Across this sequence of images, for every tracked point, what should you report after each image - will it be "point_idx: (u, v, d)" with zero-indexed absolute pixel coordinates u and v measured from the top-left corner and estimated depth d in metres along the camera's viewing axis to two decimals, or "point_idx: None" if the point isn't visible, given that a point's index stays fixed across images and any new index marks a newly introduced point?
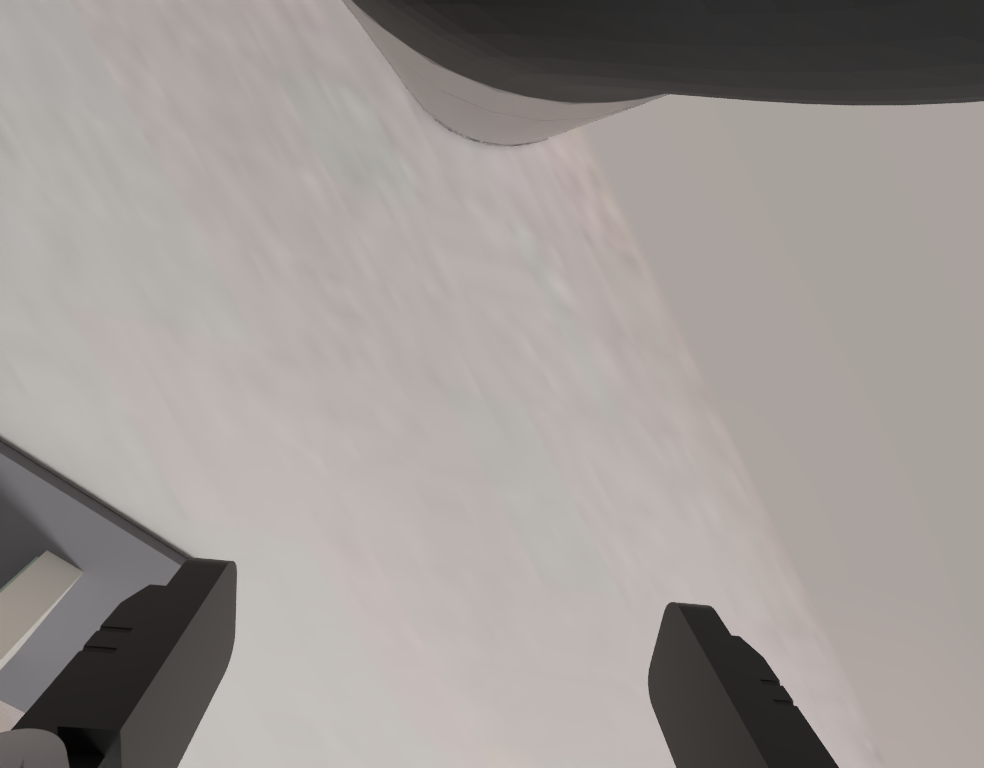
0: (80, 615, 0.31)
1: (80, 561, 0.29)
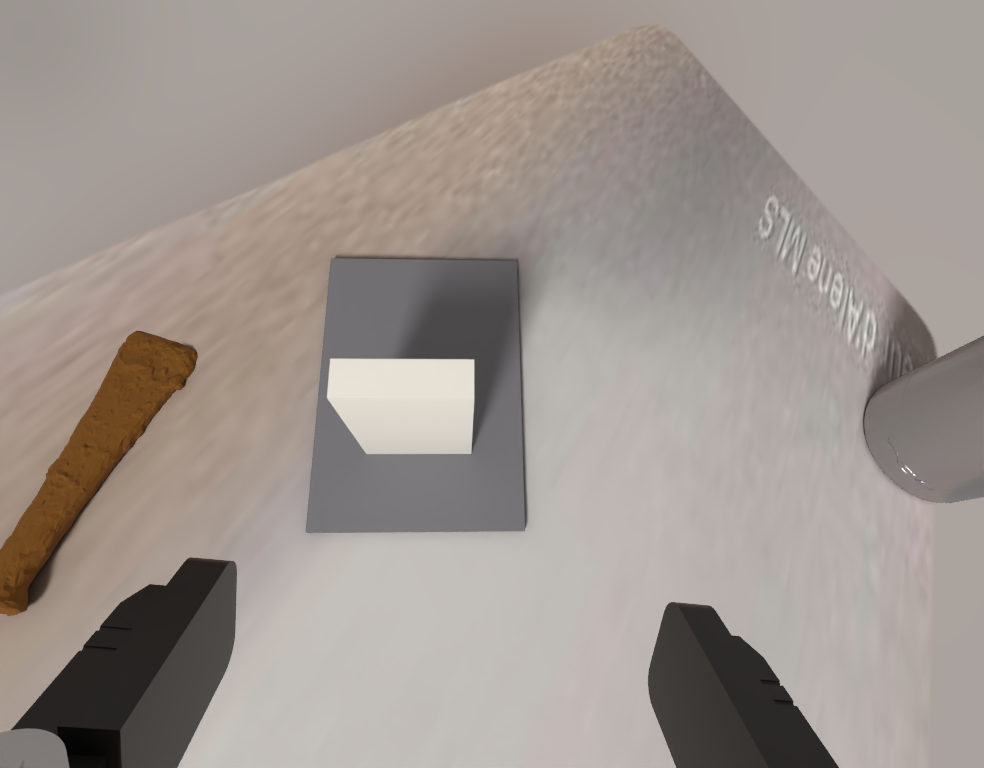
0: (433, 472, 0.39)
1: (477, 447, 0.40)
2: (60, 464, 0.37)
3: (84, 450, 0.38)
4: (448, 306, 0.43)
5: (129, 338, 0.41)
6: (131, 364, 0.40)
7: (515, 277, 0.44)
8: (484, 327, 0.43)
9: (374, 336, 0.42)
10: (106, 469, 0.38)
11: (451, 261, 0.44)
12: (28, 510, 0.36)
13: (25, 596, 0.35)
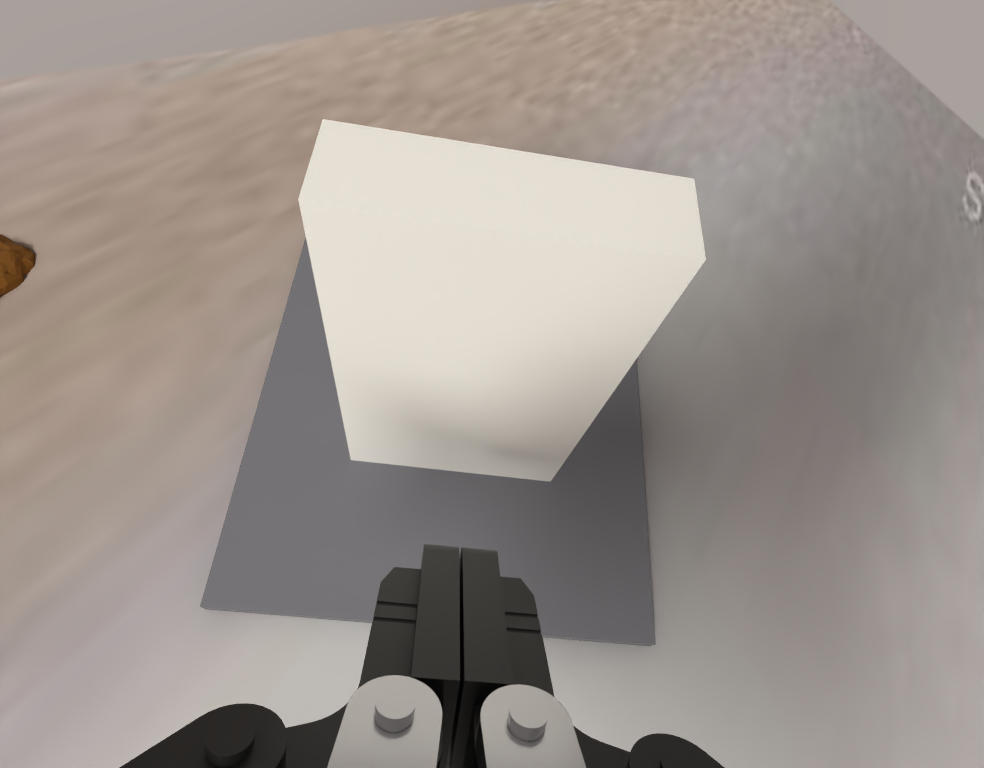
0: (477, 509, 0.20)
1: (563, 471, 0.21)
2: None
3: None
4: None
5: None
6: None
7: None
8: None
9: None
10: None
11: None
12: None
13: None
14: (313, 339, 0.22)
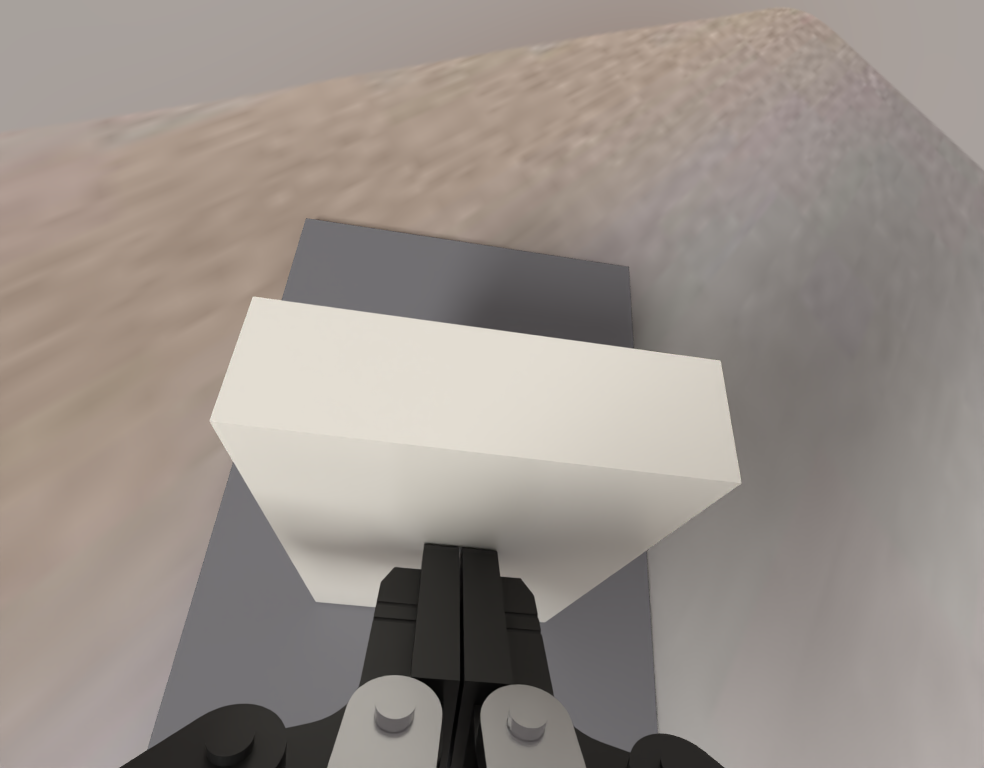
0: None
1: None
2: None
3: None
4: (509, 324, 0.23)
5: None
6: None
7: (627, 292, 0.25)
8: None
9: None
10: None
11: (517, 252, 0.25)
12: None
13: None
14: None
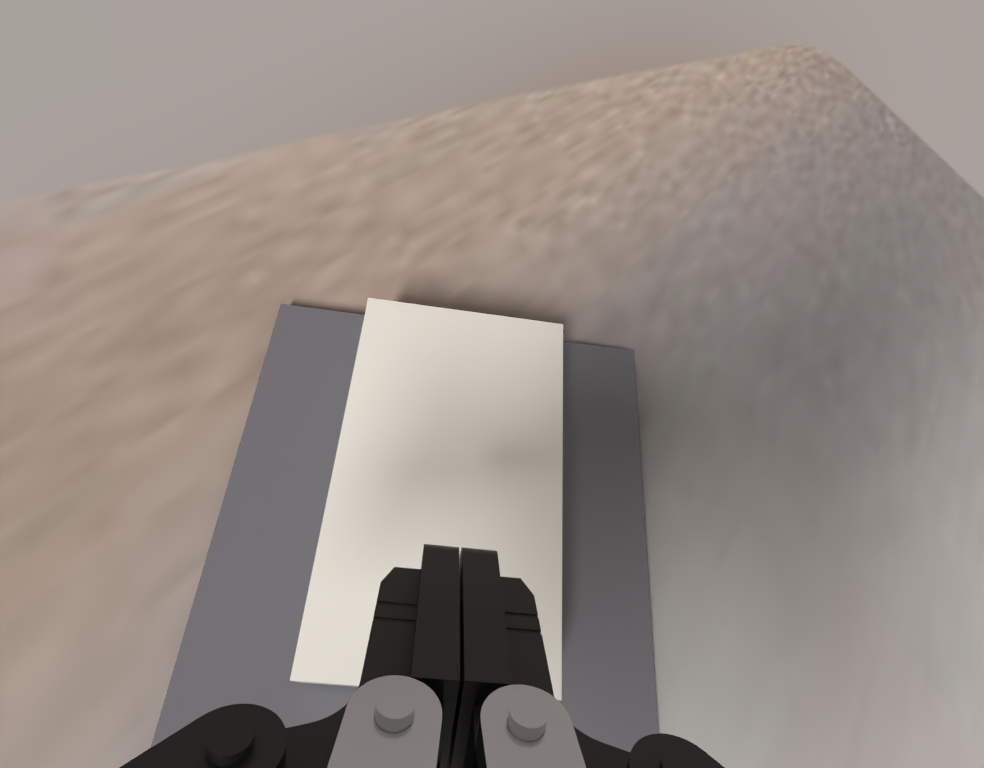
0: None
1: None
2: None
3: None
4: None
5: None
6: None
7: (632, 381, 0.23)
8: (574, 474, 0.21)
9: None
10: None
11: None
12: None
13: None
14: (243, 589, 0.17)
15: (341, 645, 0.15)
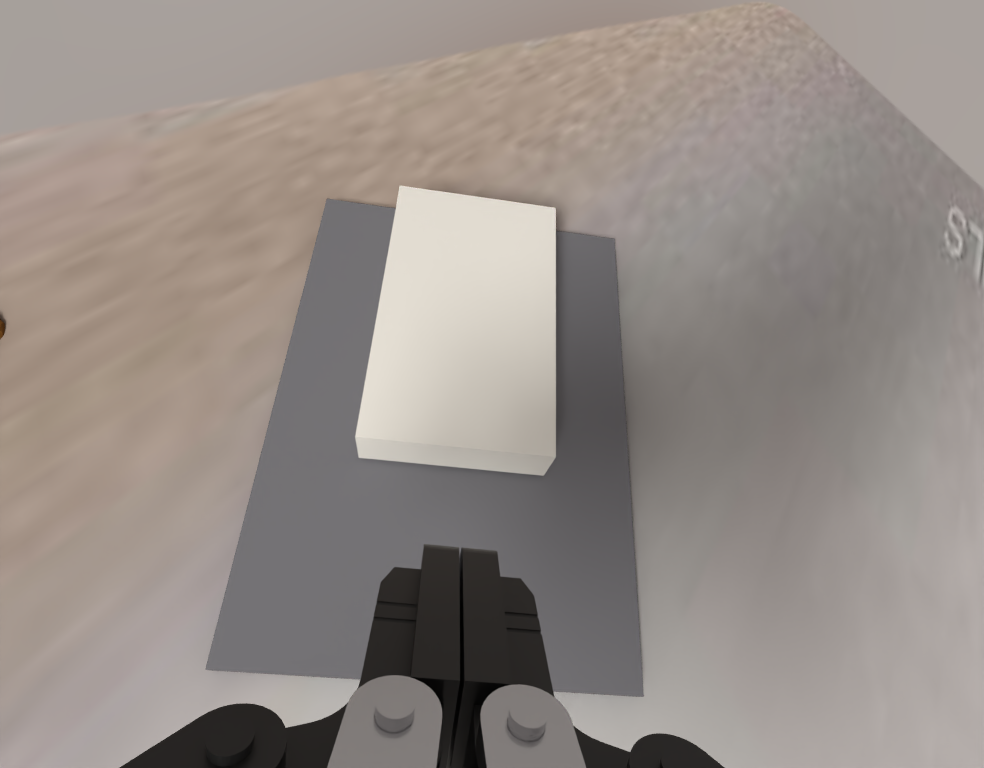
0: None
1: (554, 525, 0.22)
2: None
3: None
4: None
5: None
6: None
7: (613, 260, 0.28)
8: (565, 326, 0.26)
9: None
10: None
11: None
12: None
13: None
14: (311, 396, 0.23)
15: (391, 416, 0.20)
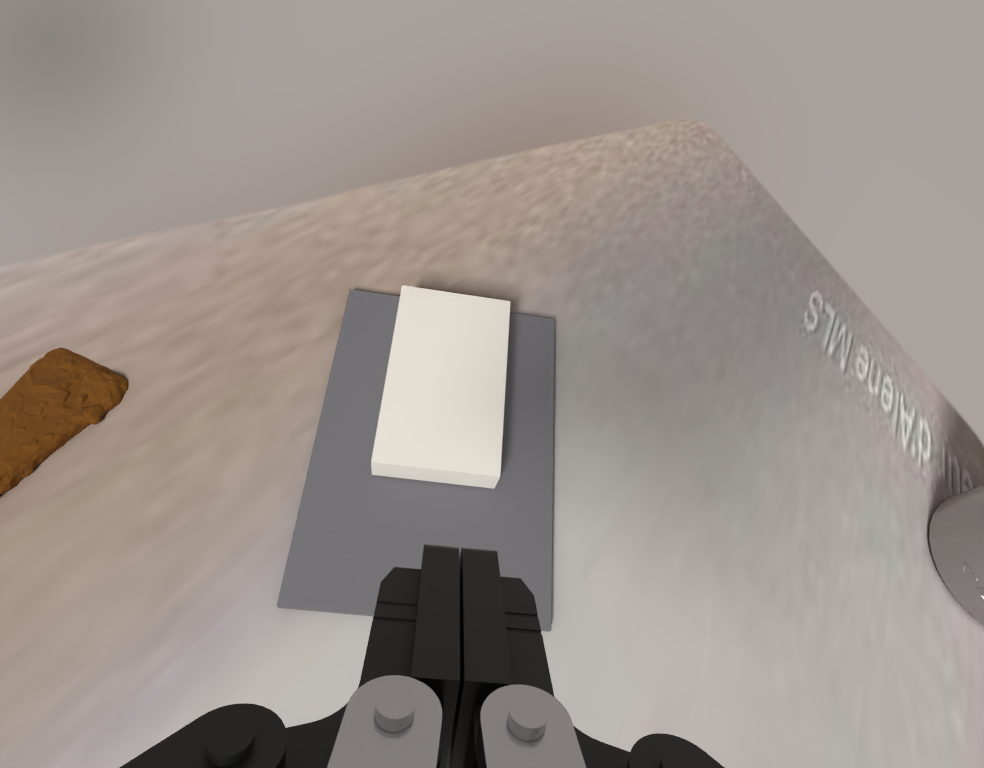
0: None
1: (499, 521, 0.33)
2: None
3: None
4: None
5: (48, 354, 0.34)
6: (41, 384, 0.33)
7: (552, 335, 0.40)
8: (515, 384, 0.37)
9: None
10: None
11: None
12: None
13: None
14: (340, 433, 0.34)
15: (394, 448, 0.32)
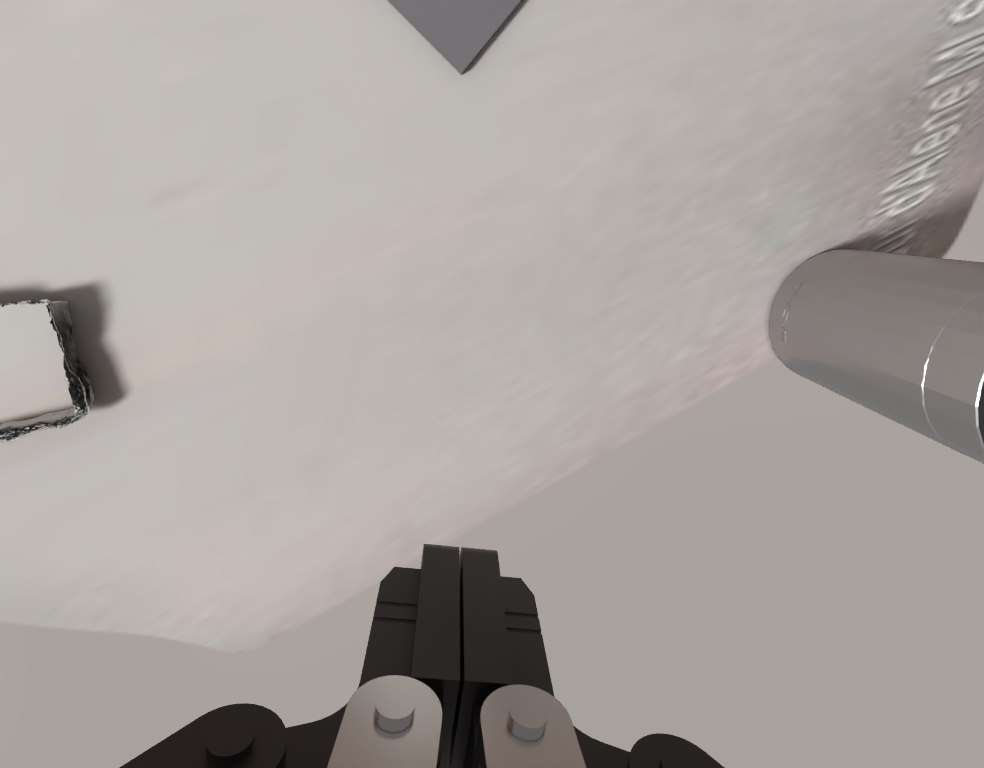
0: None
1: None
2: None
3: None
4: None
5: None
6: None
7: None
8: None
9: None
10: None
11: None
12: None
13: None
14: None
15: None
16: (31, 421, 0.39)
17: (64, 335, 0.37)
